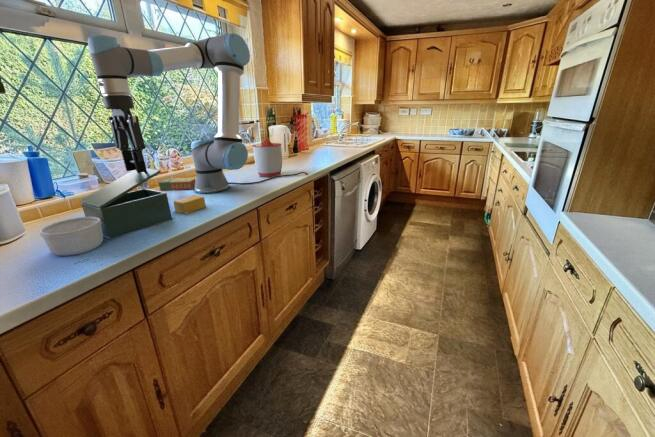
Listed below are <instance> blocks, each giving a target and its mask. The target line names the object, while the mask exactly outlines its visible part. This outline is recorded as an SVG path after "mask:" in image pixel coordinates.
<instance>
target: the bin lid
mask: <svg viewBox="0 0 655 437" xmlns="http://www.w3.org/2000/svg"><path fill="white" fill-rule="evenodd" d="M128 163H129V164H132V165H133V167H134V168H135V170H133V171H132V170H131V171H128V172H127V173H126V174H124V175H122V176H121V177H119V178H117V179H115V180H113V181H112V182H110V183H108V184H106V185H104V186H103V187H102V188H100V189H98V190H95V191H94V192H92V193H91V194H89V195H87V196H85V197H84V198H82V199H80V200H79V202H80V203H84V204H87V205H90V206H94V207H97V208H100V209H102V208H103V207H105V206H107V205H108V204H110V203H112V202H113V201H115V200H116V199H118V198H120V197H121V196H123V195H125V194H126V193H128V192H132V191H134V190H135V189H137V187H138V186H139V185H141V184H143V183H144V182H146V181H147V182H148V181H150V180H151V179H153V178H154V177H156V176H157V175H159V174H160V173H161V170H160V169H155V168H147V167H146V170H147V171H146V172H140V173H137V170H136V166H135V162H134V159H129V160H128Z"/></svg>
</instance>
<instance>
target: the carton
mask: <svg viewBox="0 0 655 437" xmlns="http://www.w3.org/2000/svg"><path fill="white" fill-rule="evenodd" d="M195 179H196V176H195V177H194V176H193V177H171V178H170V177H169V178H165V179H163V180H160V181H158V186H159V190H160V191H171V190H172V191H173V190H175V191H176V190H193V189H195Z"/></svg>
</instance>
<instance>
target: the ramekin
mask: <svg viewBox="0 0 655 437" xmlns="http://www.w3.org/2000/svg"><path fill="white" fill-rule="evenodd" d="M101 225H102V222H101V219H100V218H98V217H85V216H82V217H81V216H80V217H73V218H68V219H63V220H59V221H57V222H56V221H55V222H53V223H50V224H48V225H46V226H44V227H42V228H41V229H40V230H39V236H40V237H41V238H42V239H43V241H44V243H45V244H46V246H47V248H48V249H49V251H50V252H51V253H52V254H54V255H56V256H59V257H66V256H67V257H68V256H74V255H79V254H84V253H86V252H90V251H92V250H95V249H96V248H98V247H100V246H101V244H102V243H103V241H104V237H103V232H102V227H101Z"/></svg>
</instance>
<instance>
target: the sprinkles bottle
mask: <svg viewBox="0 0 655 437" xmlns="http://www.w3.org/2000/svg"><path fill="white" fill-rule="evenodd" d="M131 171H133V170H131ZM141 189H150V185H149V182H148V180H147V181H146V182H144V183H143V184H141V185H139V186H138V187H136V191H137V190H141Z"/></svg>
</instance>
